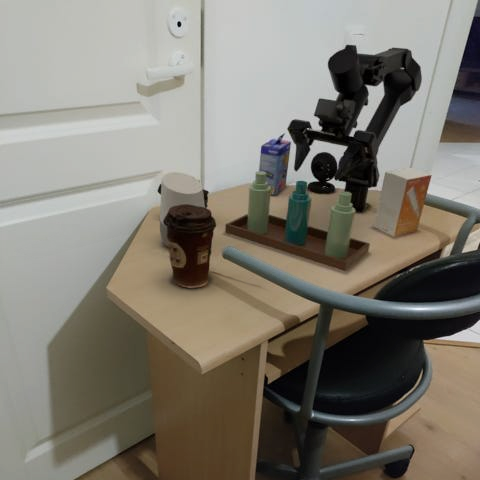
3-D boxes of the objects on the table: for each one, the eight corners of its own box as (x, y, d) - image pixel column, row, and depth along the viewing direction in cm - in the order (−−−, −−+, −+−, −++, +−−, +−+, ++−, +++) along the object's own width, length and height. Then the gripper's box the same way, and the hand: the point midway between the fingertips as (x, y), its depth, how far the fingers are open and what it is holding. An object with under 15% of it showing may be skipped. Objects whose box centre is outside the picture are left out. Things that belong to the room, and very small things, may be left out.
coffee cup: (173, 295, 82) (170, 222, 75) (160, 273, 88) (156, 204, 81) (221, 286, 85) (222, 216, 78) (205, 266, 91) (205, 199, 84)
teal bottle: (281, 237, 103) (287, 179, 96) (302, 236, 104) (309, 178, 97) (287, 246, 99) (294, 186, 92) (309, 245, 100) (316, 185, 93)
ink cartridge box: (276, 196, 127) (281, 138, 119) (256, 192, 128) (259, 136, 121) (287, 185, 135) (292, 131, 127) (268, 182, 136) (272, 128, 128)
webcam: (301, 189, 133) (305, 151, 127) (316, 183, 138) (320, 147, 132) (325, 196, 129) (331, 157, 123) (340, 189, 133) (345, 152, 128)
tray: (254, 219, 112) (254, 210, 111) (367, 253, 99) (370, 243, 98) (225, 234, 105) (225, 224, 103) (344, 273, 91) (346, 262, 90)
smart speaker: (189, 259, 93) (188, 188, 86) (151, 248, 97) (146, 178, 89) (215, 242, 101) (216, 175, 93) (178, 232, 104) (176, 167, 96)
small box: (394, 238, 106) (407, 179, 99) (372, 228, 111) (384, 171, 104) (418, 231, 110) (432, 174, 103) (396, 222, 115) (409, 166, 108)
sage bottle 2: (329, 247, 100) (338, 187, 93) (350, 252, 98) (361, 192, 91) (320, 255, 96) (329, 194, 89) (342, 261, 94) (353, 199, 88)
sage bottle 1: (253, 224, 109) (256, 168, 102) (271, 228, 107) (276, 172, 100) (243, 230, 105) (245, 173, 98) (261, 235, 103) (265, 177, 97)
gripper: (296, 76, 97) (262, 143, 96) (384, 87, 88) (349, 160, 87) (310, 112, 107) (280, 173, 105) (391, 125, 98) (360, 192, 97)
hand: (314, 174), depth 98 cm, fingers open, 9 cm apart
